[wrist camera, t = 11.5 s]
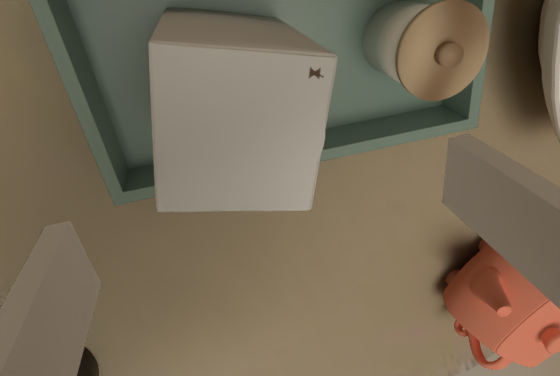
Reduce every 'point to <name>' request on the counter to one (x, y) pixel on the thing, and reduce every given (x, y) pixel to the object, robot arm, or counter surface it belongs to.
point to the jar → (388, 34)
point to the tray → (270, 3)
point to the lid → (442, 49)
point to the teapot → (501, 311)
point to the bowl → (551, 59)
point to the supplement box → (236, 112)
